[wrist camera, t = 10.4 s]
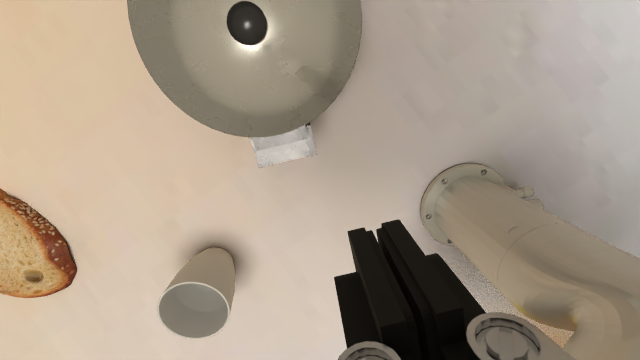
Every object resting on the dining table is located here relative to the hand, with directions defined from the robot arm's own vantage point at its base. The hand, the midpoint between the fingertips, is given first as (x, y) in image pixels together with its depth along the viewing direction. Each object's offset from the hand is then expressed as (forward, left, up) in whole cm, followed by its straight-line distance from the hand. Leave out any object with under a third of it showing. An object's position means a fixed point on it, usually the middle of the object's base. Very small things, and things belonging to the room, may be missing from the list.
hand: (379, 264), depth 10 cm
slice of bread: (+45, +5, -32) cm, 56 cm away
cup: (+19, +16, -31) cm, 40 cm away
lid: (+4, -12, -20) cm, 24 cm away
